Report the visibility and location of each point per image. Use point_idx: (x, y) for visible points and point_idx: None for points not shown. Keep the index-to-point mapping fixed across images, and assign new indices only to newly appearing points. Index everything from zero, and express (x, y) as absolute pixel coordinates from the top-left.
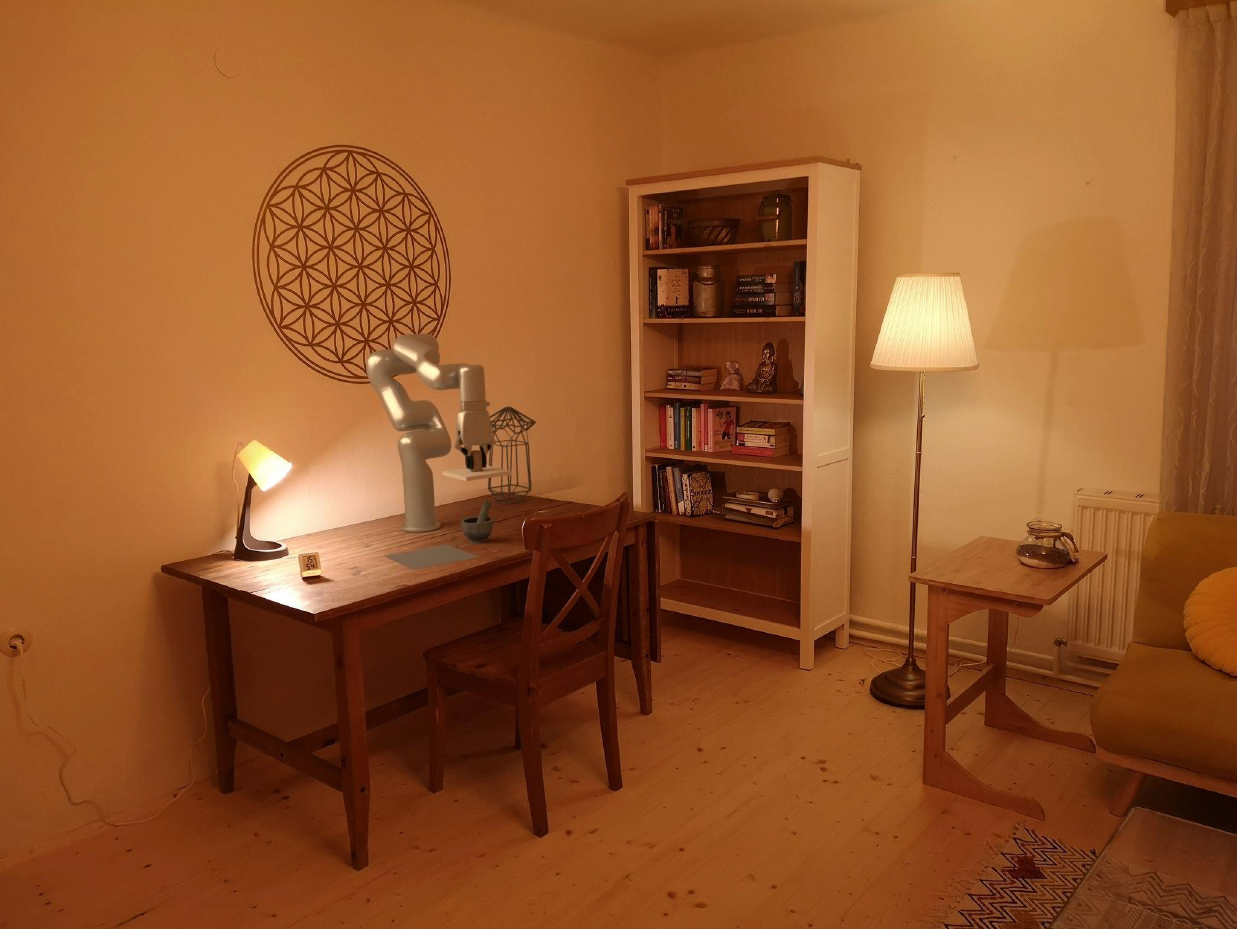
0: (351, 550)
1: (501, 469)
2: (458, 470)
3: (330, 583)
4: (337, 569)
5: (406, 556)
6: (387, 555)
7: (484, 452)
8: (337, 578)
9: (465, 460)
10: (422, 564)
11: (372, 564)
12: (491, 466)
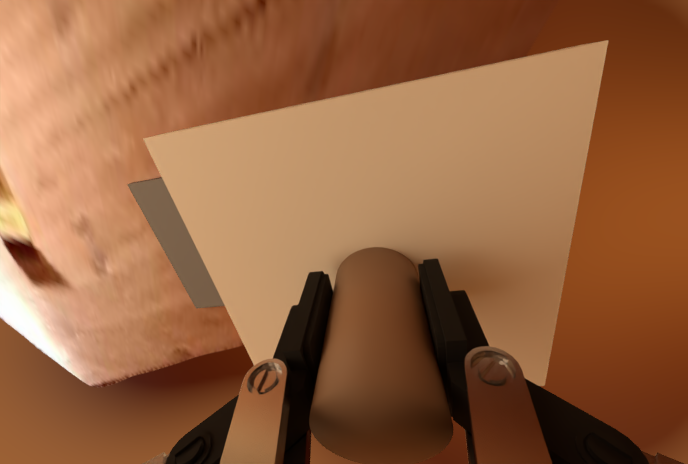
0: (26, 50)
1: (535, 323)
2: (267, 187)
3: (68, 295)
4: (52, 221)
5: (180, 218)
6: (136, 186)
7: (466, 433)
8: (71, 276)
9: (281, 338)
10: (212, 288)
11: (116, 222)
12: (584, 156)
